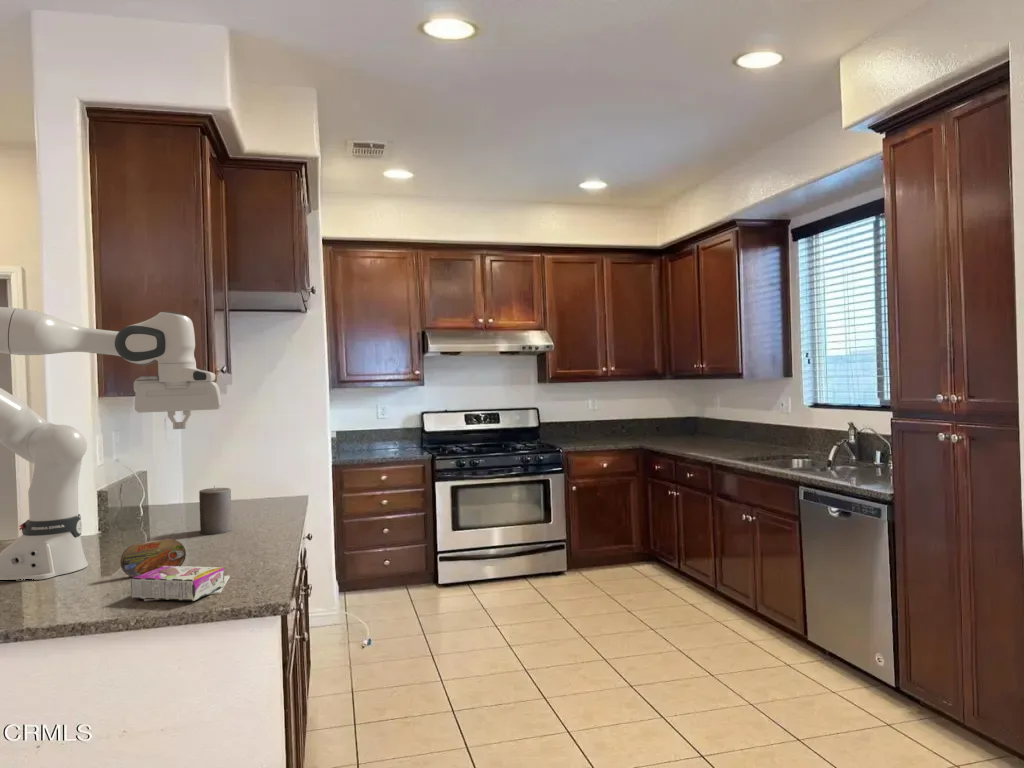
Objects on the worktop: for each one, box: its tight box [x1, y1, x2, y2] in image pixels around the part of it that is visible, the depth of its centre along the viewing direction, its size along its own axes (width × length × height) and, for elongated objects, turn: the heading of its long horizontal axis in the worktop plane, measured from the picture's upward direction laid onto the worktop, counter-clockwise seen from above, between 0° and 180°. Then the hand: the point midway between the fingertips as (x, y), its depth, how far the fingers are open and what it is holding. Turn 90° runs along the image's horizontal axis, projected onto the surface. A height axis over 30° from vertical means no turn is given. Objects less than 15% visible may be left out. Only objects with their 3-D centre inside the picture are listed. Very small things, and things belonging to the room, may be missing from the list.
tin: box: [120, 538, 187, 578], centre depth 182 cm, size 15×3×8 cm, turn 123°
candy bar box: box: [130, 565, 225, 602], centre depth 163 cm, size 11×5×16 cm
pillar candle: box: [198, 485, 233, 536], centre depth 232 cm, size 10×10×15 cm
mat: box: [143, 574, 231, 602], centre depth 168 cm, size 16×14×1 cm
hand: (179, 429), depth 182 cm, fingers closed
